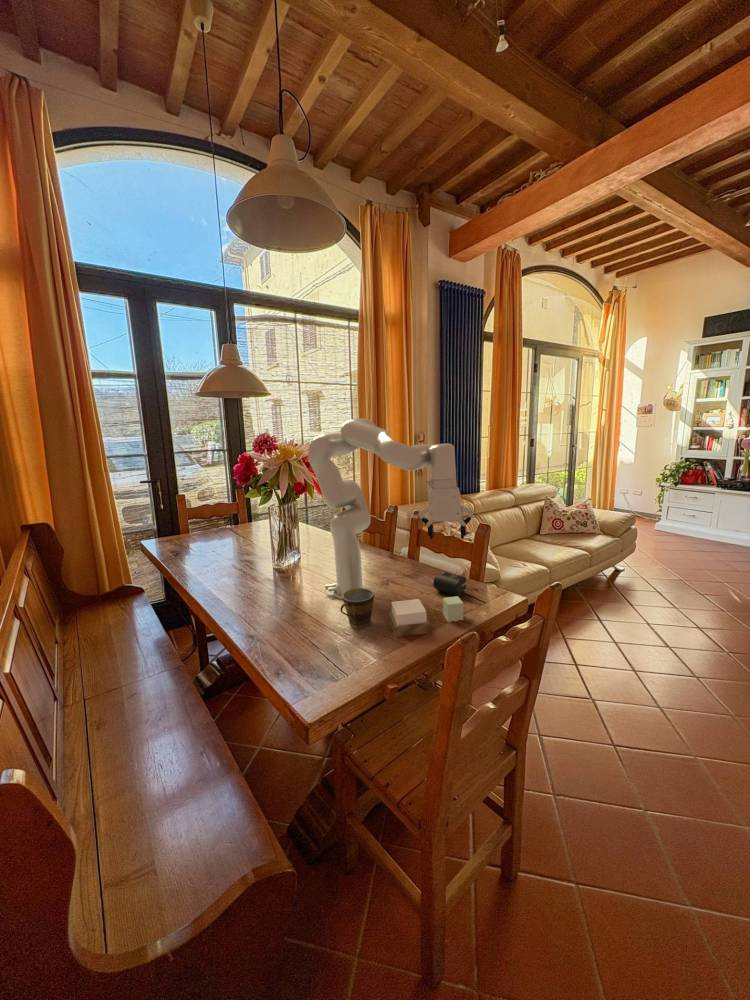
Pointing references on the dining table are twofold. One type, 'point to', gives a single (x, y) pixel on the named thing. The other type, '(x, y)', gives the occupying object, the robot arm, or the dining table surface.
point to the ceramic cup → (358, 607)
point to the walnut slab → (408, 627)
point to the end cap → (450, 584)
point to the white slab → (408, 612)
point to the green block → (453, 608)
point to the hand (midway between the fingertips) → (447, 537)
